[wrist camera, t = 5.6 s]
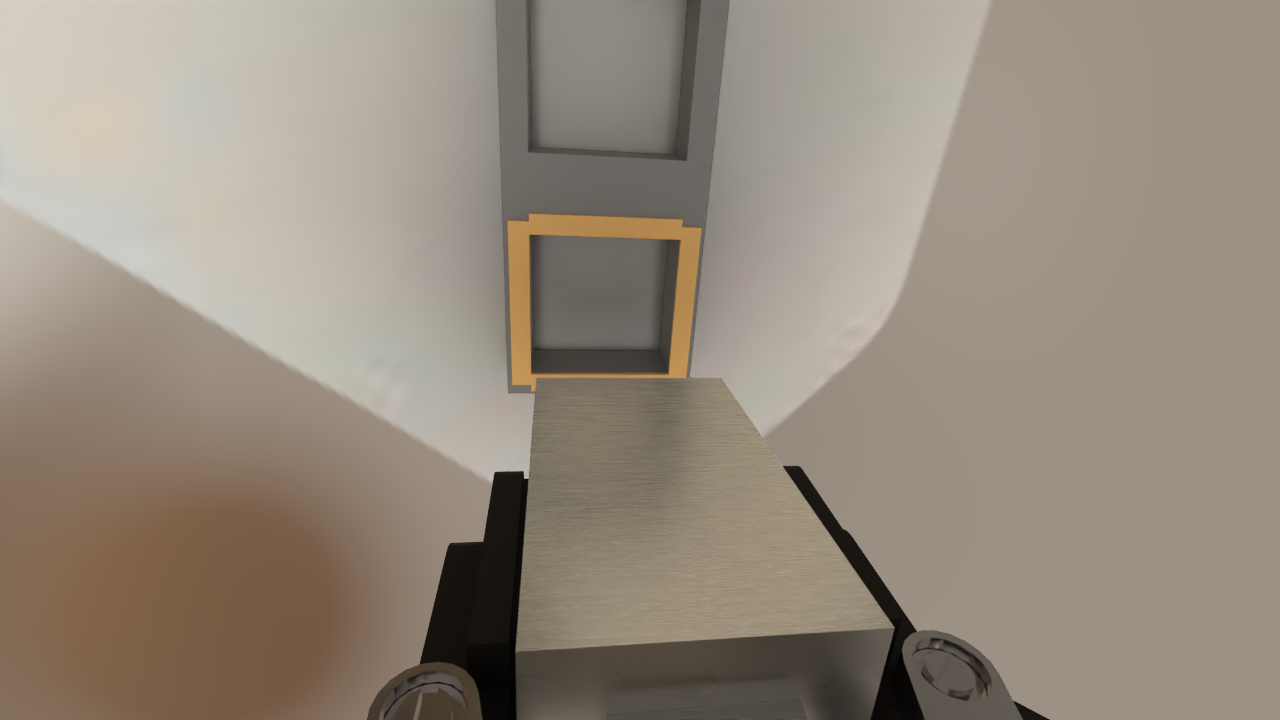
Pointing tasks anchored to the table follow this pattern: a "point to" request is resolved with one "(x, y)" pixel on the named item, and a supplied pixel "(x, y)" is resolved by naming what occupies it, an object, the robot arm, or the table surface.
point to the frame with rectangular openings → (607, 202)
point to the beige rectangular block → (680, 567)
